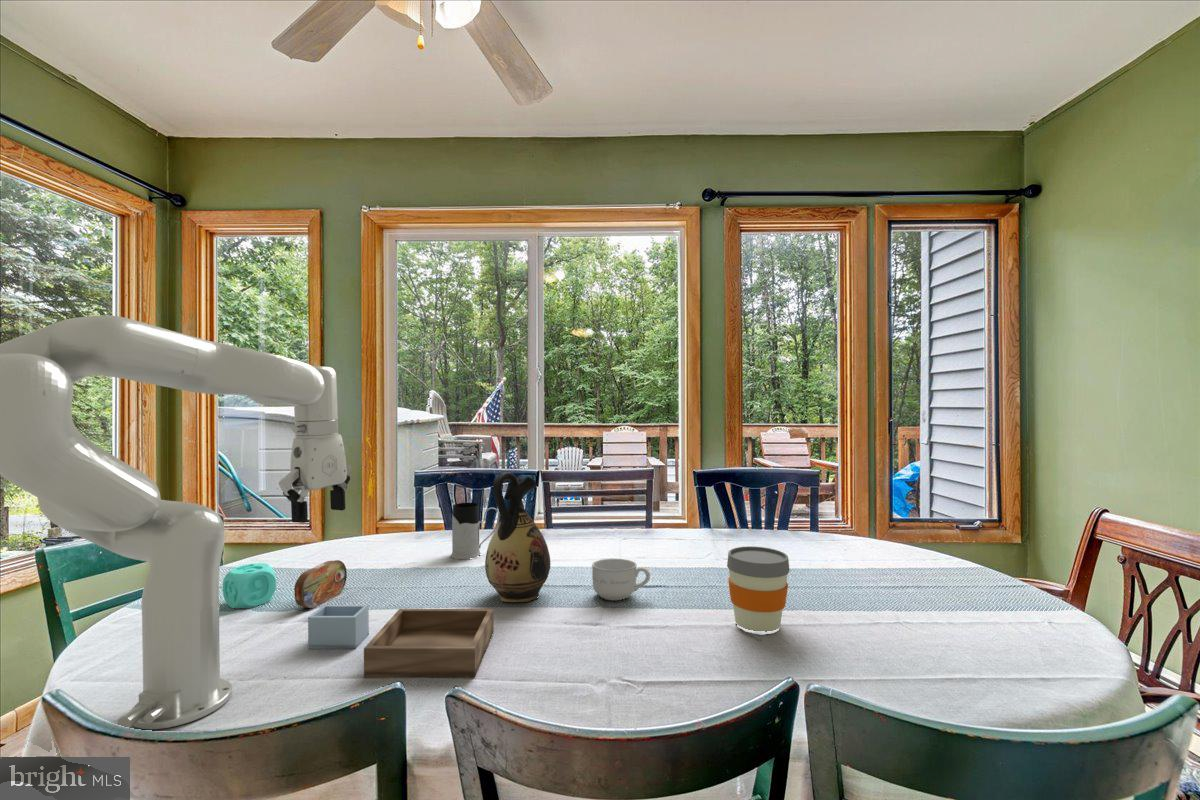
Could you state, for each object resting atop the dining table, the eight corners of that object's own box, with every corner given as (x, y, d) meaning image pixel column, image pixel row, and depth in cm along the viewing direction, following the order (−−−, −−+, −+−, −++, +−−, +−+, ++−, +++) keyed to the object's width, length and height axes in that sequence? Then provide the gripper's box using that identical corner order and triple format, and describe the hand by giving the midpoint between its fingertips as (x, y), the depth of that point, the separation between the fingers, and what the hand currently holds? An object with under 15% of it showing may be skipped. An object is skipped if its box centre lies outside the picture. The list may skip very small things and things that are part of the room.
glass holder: (450, 552, 167) (450, 503, 167) (497, 548, 171) (497, 500, 171) (451, 561, 159) (451, 509, 158) (501, 556, 163) (501, 506, 163)
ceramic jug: (519, 580, 142) (519, 464, 142) (563, 594, 133) (563, 470, 132) (465, 599, 129) (465, 472, 129) (509, 617, 120) (509, 479, 119)
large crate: (474, 677, 94) (474, 648, 94) (363, 677, 94) (363, 648, 94) (493, 633, 111) (493, 608, 111) (399, 633, 111) (399, 608, 111)
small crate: (355, 648, 105) (355, 617, 105) (308, 648, 105) (308, 617, 105) (368, 634, 111) (368, 605, 111) (323, 634, 111) (323, 605, 111)
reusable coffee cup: (746, 642, 108) (746, 566, 107) (716, 617, 120) (716, 548, 119) (802, 635, 111) (802, 561, 111) (767, 611, 123) (767, 544, 123)
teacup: (583, 599, 130) (583, 565, 129) (604, 585, 139) (604, 553, 139) (638, 610, 123) (638, 575, 123) (656, 594, 133) (656, 561, 133)
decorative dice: (258, 593, 133) (258, 560, 133) (277, 600, 129) (276, 566, 129) (222, 604, 126) (221, 570, 126) (240, 612, 122) (240, 576, 122)
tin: (303, 614, 121) (303, 576, 121) (291, 613, 122) (291, 575, 122) (348, 589, 136) (348, 555, 136) (336, 589, 136) (336, 555, 136)
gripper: (296, 434, 99) (299, 528, 99) (363, 425, 115) (366, 506, 116) (263, 433, 101) (266, 525, 102) (334, 425, 117) (336, 504, 118)
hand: (319, 515), depth 109 cm, fingers open, 9 cm apart
